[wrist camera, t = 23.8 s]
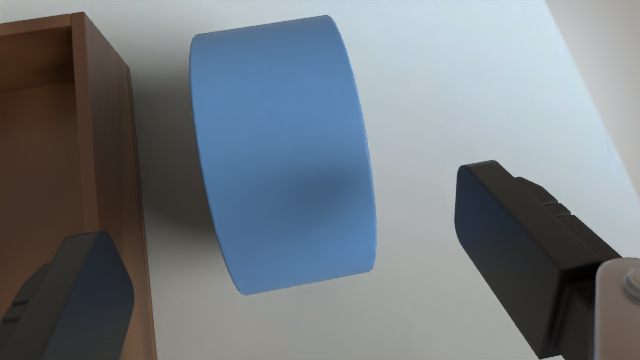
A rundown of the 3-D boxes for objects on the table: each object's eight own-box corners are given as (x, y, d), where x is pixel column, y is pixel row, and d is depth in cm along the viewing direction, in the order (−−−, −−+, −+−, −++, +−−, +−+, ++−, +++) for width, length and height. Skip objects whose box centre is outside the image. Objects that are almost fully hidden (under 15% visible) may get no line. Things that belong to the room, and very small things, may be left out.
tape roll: (258, 293, 21) (214, 299, 11) (230, 104, 23) (172, -31, 13) (356, 275, 21) (398, 263, 11) (319, 90, 24) (326, -52, 14)
